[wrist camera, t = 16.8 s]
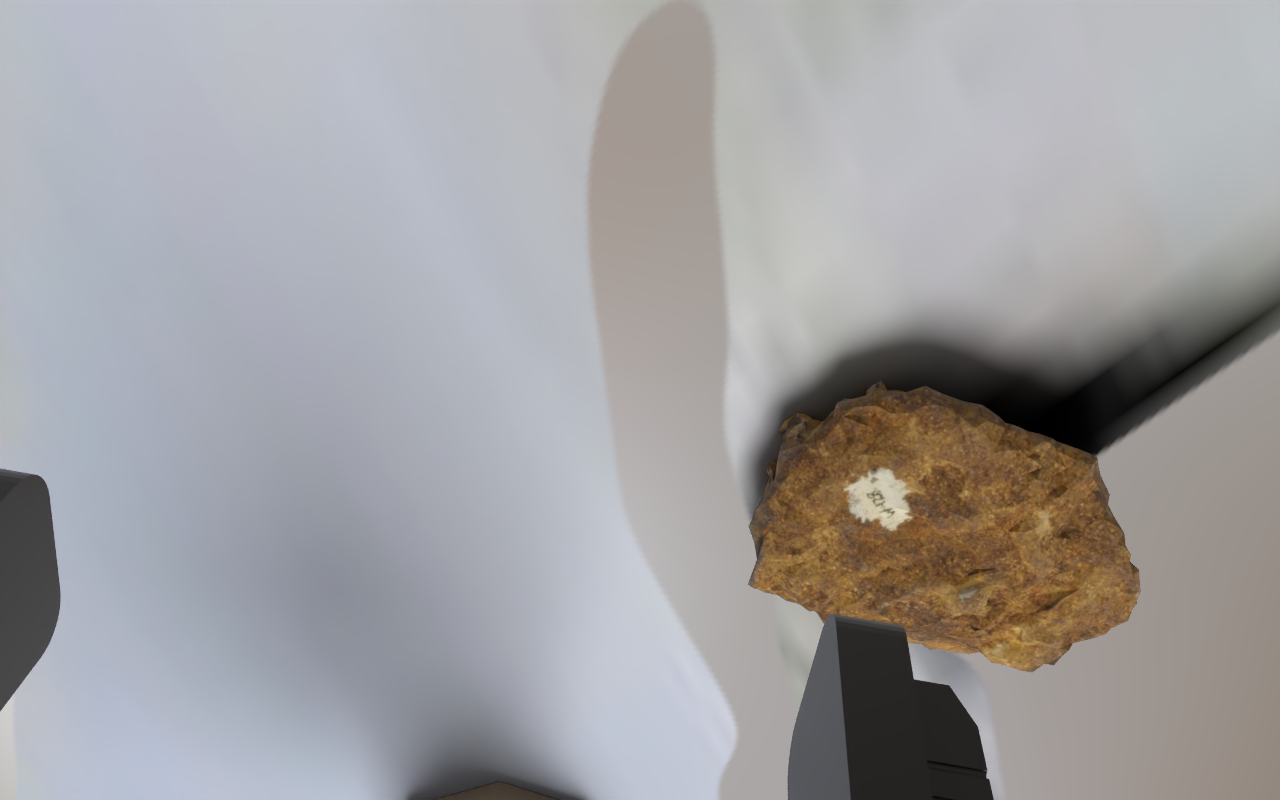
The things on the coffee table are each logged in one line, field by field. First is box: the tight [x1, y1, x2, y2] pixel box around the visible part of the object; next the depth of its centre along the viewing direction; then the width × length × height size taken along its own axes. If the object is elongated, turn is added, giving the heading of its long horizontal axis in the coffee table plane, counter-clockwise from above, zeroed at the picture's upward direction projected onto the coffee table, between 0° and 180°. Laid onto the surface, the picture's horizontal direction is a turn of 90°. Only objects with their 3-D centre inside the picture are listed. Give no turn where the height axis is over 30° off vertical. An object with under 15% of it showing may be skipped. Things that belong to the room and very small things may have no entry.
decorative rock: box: [748, 381, 1140, 672], centre depth 46 cm, size 11×4×15 cm
